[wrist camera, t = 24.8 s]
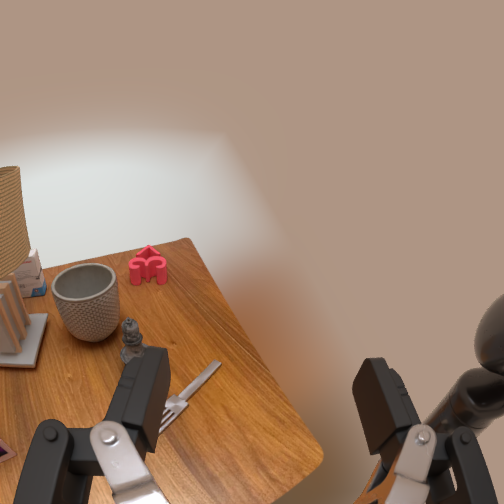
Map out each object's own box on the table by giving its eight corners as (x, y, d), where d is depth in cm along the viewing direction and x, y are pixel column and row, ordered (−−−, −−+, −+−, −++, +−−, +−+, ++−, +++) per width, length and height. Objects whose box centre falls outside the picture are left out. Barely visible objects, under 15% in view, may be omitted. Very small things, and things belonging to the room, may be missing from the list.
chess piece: (118, 364, 46) (104, 314, 40) (143, 351, 50) (134, 301, 45) (134, 383, 42) (121, 334, 37) (160, 368, 47) (152, 319, 41)
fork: (211, 360, 51) (211, 357, 50) (225, 367, 49) (225, 364, 49) (142, 425, 35) (141, 423, 35) (157, 436, 34) (157, 434, 34)
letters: (134, 260, 81) (133, 245, 79) (166, 259, 84) (166, 244, 82) (129, 285, 69) (127, 268, 67) (167, 284, 72) (166, 267, 70)
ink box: (47, 286, 62) (37, 247, 57) (44, 296, 58) (33, 256, 53) (22, 289, 58) (11, 251, 53) (18, 299, 54) (6, 259, 49)
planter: (132, 314, 59) (124, 264, 53) (117, 358, 47) (103, 304, 41) (79, 309, 57) (68, 260, 51) (58, 349, 45) (38, 296, 39)
